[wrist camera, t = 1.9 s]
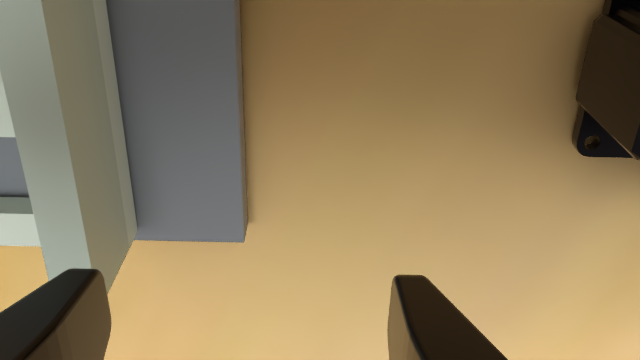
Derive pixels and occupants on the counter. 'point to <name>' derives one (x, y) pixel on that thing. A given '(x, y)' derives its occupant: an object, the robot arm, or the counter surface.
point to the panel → (65, 136)
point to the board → (175, 118)
